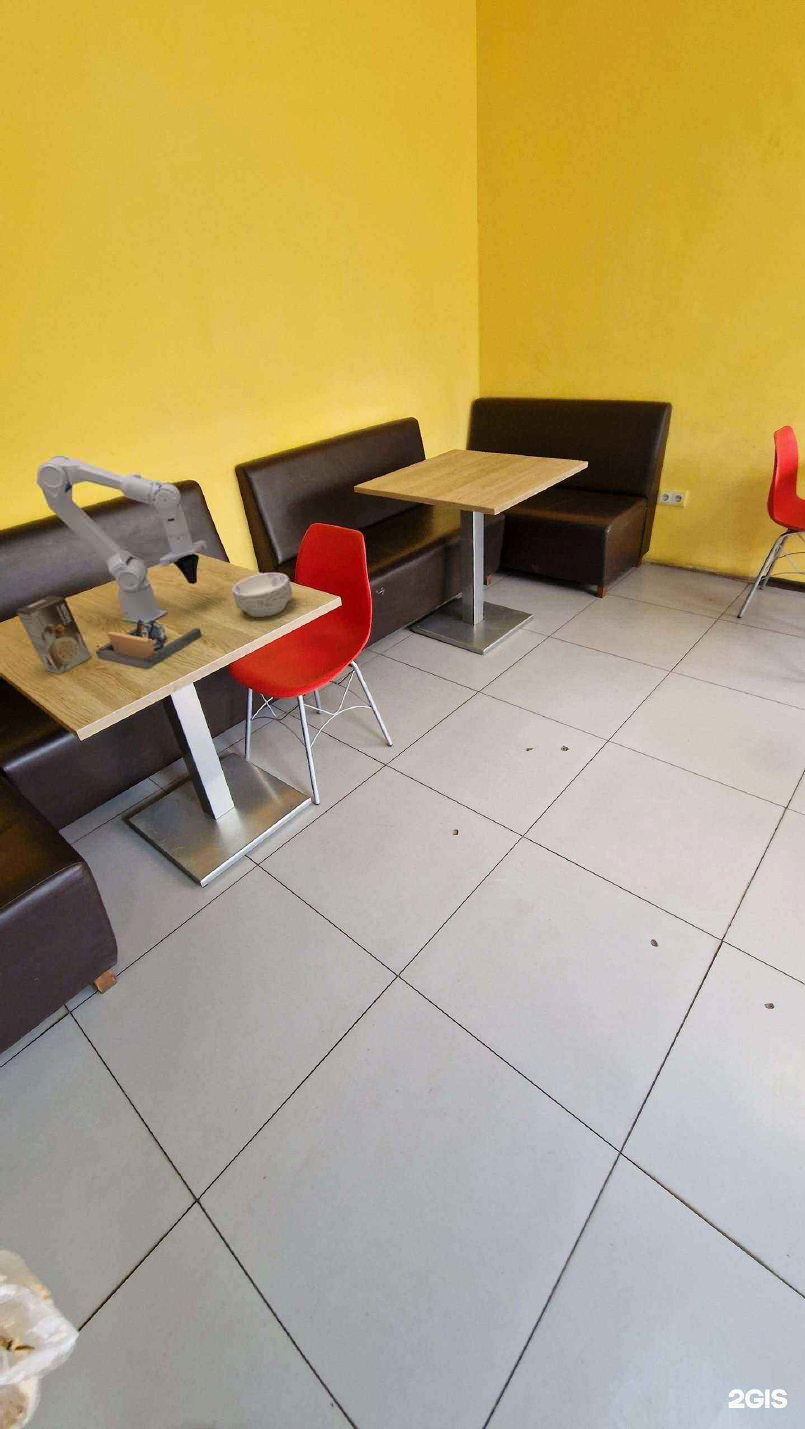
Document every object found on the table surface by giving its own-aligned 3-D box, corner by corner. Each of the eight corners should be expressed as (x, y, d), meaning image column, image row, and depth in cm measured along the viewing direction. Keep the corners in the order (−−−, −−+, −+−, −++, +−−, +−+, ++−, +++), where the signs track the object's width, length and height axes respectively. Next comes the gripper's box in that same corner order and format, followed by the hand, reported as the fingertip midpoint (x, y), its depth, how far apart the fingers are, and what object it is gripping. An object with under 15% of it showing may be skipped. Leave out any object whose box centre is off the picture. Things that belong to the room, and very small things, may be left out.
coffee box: (77, 653, 159) (51, 594, 150) (92, 657, 156) (66, 597, 147) (44, 670, 153) (14, 609, 144) (59, 675, 150) (30, 613, 141)
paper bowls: (227, 615, 170) (219, 587, 165) (270, 594, 179) (264, 568, 174) (262, 627, 161) (255, 598, 156) (306, 605, 170) (300, 577, 165)
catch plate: (114, 651, 157) (107, 633, 154) (118, 649, 158) (111, 631, 155) (152, 660, 151) (145, 641, 148) (156, 657, 152) (149, 639, 149)
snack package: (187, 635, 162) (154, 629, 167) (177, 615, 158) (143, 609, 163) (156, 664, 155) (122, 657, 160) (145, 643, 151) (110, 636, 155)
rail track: (98, 657, 156) (95, 650, 155) (153, 626, 168) (151, 619, 167) (147, 669, 147) (144, 662, 146) (202, 635, 160) (199, 628, 159)
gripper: (167, 543, 157) (183, 594, 164) (208, 525, 167) (222, 574, 174) (148, 541, 160) (164, 591, 167) (190, 523, 170) (204, 571, 177)
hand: (192, 582), depth 171 cm, fingers closed
